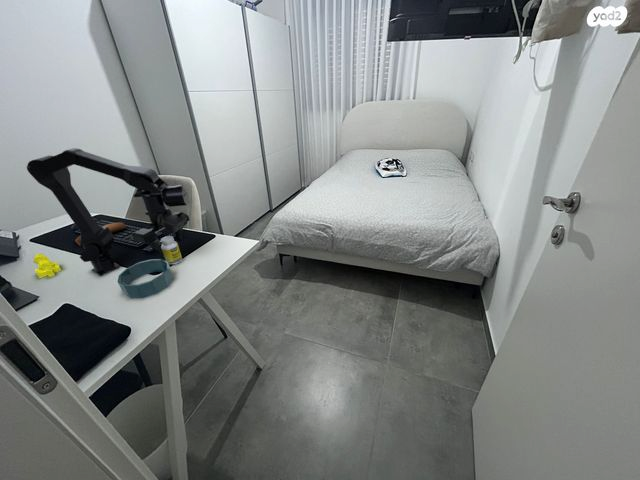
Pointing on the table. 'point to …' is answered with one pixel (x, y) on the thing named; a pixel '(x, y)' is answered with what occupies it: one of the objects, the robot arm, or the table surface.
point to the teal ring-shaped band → (146, 287)
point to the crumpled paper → (45, 266)
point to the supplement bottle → (170, 250)
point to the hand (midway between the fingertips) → (170, 247)
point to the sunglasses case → (112, 227)
